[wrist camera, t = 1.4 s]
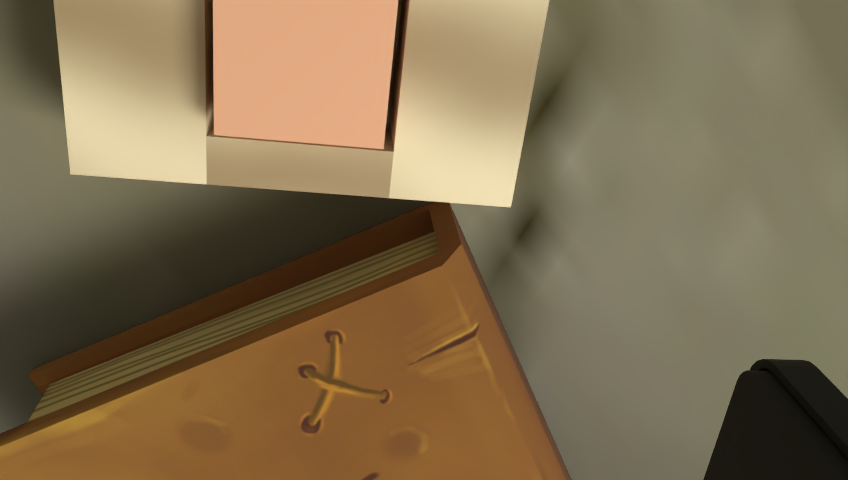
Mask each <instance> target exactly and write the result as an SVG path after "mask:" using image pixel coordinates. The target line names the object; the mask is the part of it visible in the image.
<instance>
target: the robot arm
mask: <svg viewBox="0 0 848 480" xmlns="http://www.w3.org/2000/svg"><path fill="white" fill-rule="evenodd" d="M704 480H848V399H847V398H846V397H845V396H844V395H843V394H842V393H841V392H840V390H839V389H838V388H837V387H836V386H835V385H834V384H833V383H832V382H831V381H830V380H829V379H828V378H827V377H826V376H825V375H824V374H823V373H822V372H821V371H820V370H819V369H818V368H817V367H816V366H815V365H813V364H812V363H811V362H809V361H804V360H778V359H762V360H759V361H756V362H755V363H754V364H753V365H752V367H751V369H750V371H745V372H743V373H742V374H741V375H740V376H739V378H738V380H737V383H736V386H735V389H734V391H733V394H732V397H731V400H730V403H729V406H728V409H727V412H726V415H725V418H724V421H723V424H722V427H721V430H720V433H719V436H718V439H717V442H716V445H715V447H714V450H713V453H712V456H711V459H710V462H709V465H708V468H707V471H706V474H705V477H704Z"/></svg>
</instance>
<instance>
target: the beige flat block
mask: <svg viewBox="0 0 848 480" xmlns="http://www.w3.org/2000/svg"><path fill="white" fill-rule="evenodd" d="M53 1H54V11H55V21H56V31H57V41H58V52H59V62H60V72H61V82H62V92H63V102H64V113H65V123H66V133H67V143H68V153H69V163H70V174H75V175H88V176H102V177H115V178H128V179H142V180H155V181H168V182H182V183H195V184H208V185H221V186H235V187H248V188H261V189H275V190H288V191H301V192H314V193H328V194H341V195H354V196H368V197H381V198H394V199H407V200H421V201H434V202H447V203H461V204H474V205H487V206H501V207H511V204H512V198H513V193H514V187H515V182H516V177H517V171H518V166H519V160H520V155H521V150H522V144H523V139H524V133H525V128H526V123H527V117H528V112H529V106H530V101H531V96H532V90H533V85H534V79H535V74H536V69H537V63H538V58H539V52H540V47H541V42H542V36H543V31H544V26H545V20H546V15H547V9H548V4H549V0H398V9H397V19H396V29H395V39H394V49H393V59H392V70H391V80H390V90H389V100H388V110H387V120H386V130H385V140H384V149H375V148H363V147H351V146H339V145H327V144H315V143H303V142H291V141H279V140H267V139H255V138H244V137H232V136H220V135H214V82H213V0H53Z"/></svg>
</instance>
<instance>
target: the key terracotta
mask: <svg viewBox="0 0 848 480" xmlns="http://www.w3.org/2000/svg"><path fill="white" fill-rule="evenodd" d="M397 9H398V0H213V82H214V135H220V136H232V137H244V138H255V139H267V140H279V141H291V142H303V143H315V144H327V145H339V146H351V147H363V148H375V149H384V140H385V130H386V120H387V110H388V100H389V90H390V80H391V70H392V59H393V49H394V39H395V29H396V19H397Z"/></svg>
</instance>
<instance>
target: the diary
mask: <svg viewBox="0 0 848 480" xmlns="http://www.w3.org/2000/svg"><path fill="white" fill-rule="evenodd" d="M27 377H28V378H29V379H30V380H31V381H32V383H33V384H34V385H35V386H36V387H37V389H38V390H39V391H40V392H41V393H42V394H43V397H42V399H41V400H40V402H39V404H38V405H37V407H36V409H35V410H34V412H33V414H32V415H31V417H30V419H29V420H28V422H27V423H25V424H23V425H20V426H18V427H15V428H13V429H10V430H8V431H6V432H3V433H1V434H0V480H571V478H570V476H569V473H568V471H567V469H566V466H565V464H564V462H563V460H562V457H561V455H560V453H559V451H558V448H557V446H556V444H555V441H554V439H553V437H552V435H551V432H550V430H549V428H548V426H547V423H546V421H545V419H544V416H543V414H542V412H541V410H540V407H539V405H538V403H537V401H536V398H535V396H534V394H533V391H532V389H531V387H530V385H529V382H528V380H527V378H526V376H525V373H524V371H523V369H522V367H521V364H520V362H519V360H518V357H517V355H516V353H515V351H514V348H513V346H512V344H511V342H510V339H509V337H508V335H507V332H506V330H505V328H504V326H503V323H502V321H501V319H500V317H499V314H498V312H497V310H496V307H495V305H494V303H493V301H492V298H491V296H490V294H489V292H488V289H487V287H486V285H485V282H484V280H483V278H482V276H481V273H480V271H479V269H478V267H477V264H476V262H475V260H474V258H473V255H472V253H471V251H470V248H469V246H468V244H467V242H466V239H465V237H464V235H463V233H462V230H461V228H460V226H459V223H458V221H457V219H456V217H455V214H454V212H453V210H452V208H451V205H450V203H447V202H431V203H429V204H427V205H424V206H422V207H419V208H417V209H415V210H412V211H410V212H407V213H405V214H403V215H400V216H398V217H396V218H393V219H391V220H388V221H386V222H384V223H381V224H379V225H376V226H374V227H372V228H369V229H367V230H364V231H362V232H360V233H357V234H355V235H353V236H350V237H348V238H345V239H343V240H341V241H338V242H336V243H333V244H331V245H329V246H326V247H324V248H321V249H319V250H317V251H314V252H312V253H310V254H307V255H305V256H302V257H300V258H298V259H295V260H293V261H290V262H288V263H286V264H283V265H281V266H279V267H276V268H274V269H271V270H269V271H267V272H264V273H262V274H259V275H257V276H255V277H252V278H250V279H247V280H245V281H243V282H240V283H238V284H236V285H233V286H231V287H228V288H226V289H224V290H221V291H219V292H216V293H214V294H212V295H209V296H207V297H204V298H202V299H200V300H197V301H195V302H193V303H190V304H188V305H185V306H183V307H181V308H178V309H176V310H173V311H171V312H169V313H166V314H164V315H161V316H159V317H157V318H154V319H152V320H150V321H147V322H145V323H142V324H140V325H138V326H135V327H133V328H130V329H128V330H126V331H123V332H121V333H119V334H116V335H114V336H111V337H109V338H107V339H104V340H102V341H99V342H97V343H95V344H92V345H90V346H87V347H85V348H83V349H80V350H78V351H76V352H73V353H71V354H68V355H66V356H64V357H61V358H59V359H56V360H54V361H52V362H49V363H47V364H44V365H42V366H40V367H37V368H35V369H33V370H31V372H30V373H29V375H28V376H27Z"/></svg>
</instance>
